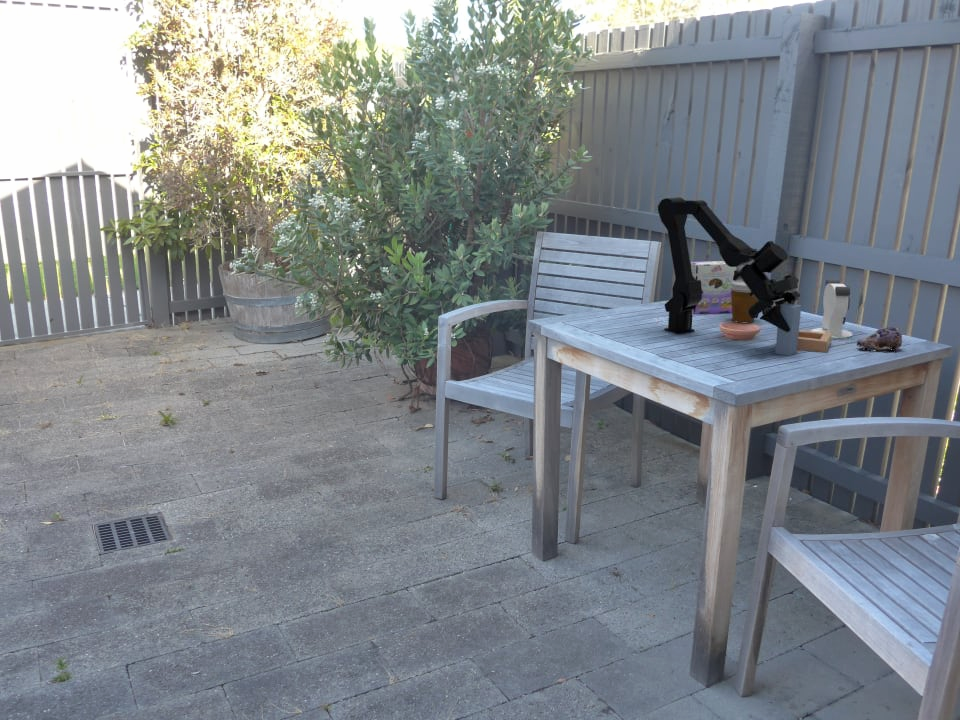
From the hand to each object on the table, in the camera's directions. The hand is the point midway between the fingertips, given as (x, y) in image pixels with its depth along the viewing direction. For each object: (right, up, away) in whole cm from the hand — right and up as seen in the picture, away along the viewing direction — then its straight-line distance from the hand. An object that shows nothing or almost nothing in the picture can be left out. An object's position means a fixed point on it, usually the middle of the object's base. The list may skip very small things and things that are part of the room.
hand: (793, 329), depth 223 cm
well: (+8, -4, +10) cm, 13 cm away
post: (-1, -6, +3) cm, 7 cm away
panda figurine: (+20, -1, +23) cm, 30 cm away
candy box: (-8, +8, +52) cm, 53 cm away
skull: (+25, -5, +6) cm, 27 cm away
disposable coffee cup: (-1, +4, +39) cm, 39 cm away
